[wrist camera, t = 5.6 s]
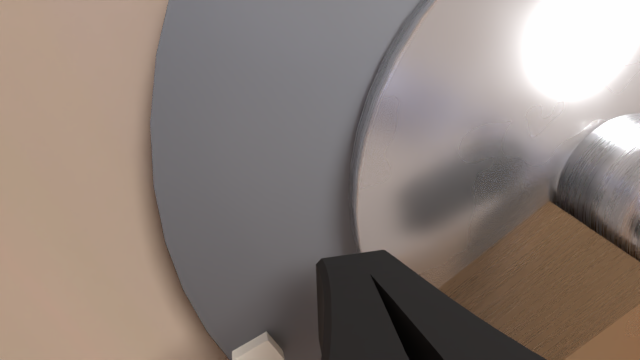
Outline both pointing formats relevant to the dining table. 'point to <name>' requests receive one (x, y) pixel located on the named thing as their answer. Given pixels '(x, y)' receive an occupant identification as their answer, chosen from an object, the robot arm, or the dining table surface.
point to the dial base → (261, 156)
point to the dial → (512, 167)
